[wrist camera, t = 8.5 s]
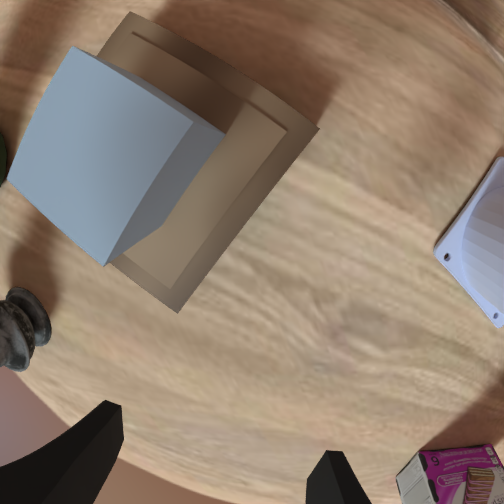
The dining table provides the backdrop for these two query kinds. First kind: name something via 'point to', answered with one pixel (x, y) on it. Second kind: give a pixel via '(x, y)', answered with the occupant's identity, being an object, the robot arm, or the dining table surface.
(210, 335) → the dining table surface
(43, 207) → the blue block
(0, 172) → the character mug
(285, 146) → the walnut plinth
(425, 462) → the candy bar box
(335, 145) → the dining table surface
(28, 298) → the salt shaker
